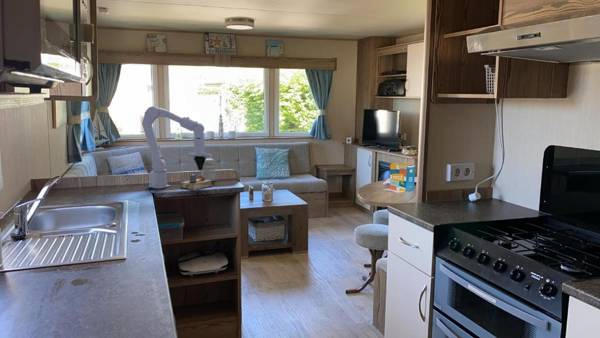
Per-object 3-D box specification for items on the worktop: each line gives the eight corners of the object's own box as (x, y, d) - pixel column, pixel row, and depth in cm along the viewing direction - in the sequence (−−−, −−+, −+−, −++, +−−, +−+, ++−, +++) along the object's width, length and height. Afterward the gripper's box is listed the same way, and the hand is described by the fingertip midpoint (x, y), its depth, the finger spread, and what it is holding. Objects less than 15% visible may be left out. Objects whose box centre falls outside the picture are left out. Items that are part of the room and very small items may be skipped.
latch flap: (197, 175, 264) (197, 174, 264) (201, 179, 266) (201, 178, 267) (201, 176, 262) (202, 175, 262) (205, 179, 265) (205, 178, 265)
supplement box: (199, 179, 282) (198, 158, 280) (211, 178, 285) (210, 157, 283) (203, 181, 275) (202, 160, 273) (215, 180, 279) (214, 159, 277)
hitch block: (181, 187, 259) (181, 182, 258) (198, 183, 270) (198, 178, 269) (195, 189, 253) (194, 184, 253) (211, 185, 264) (211, 180, 264)
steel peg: (188, 187, 259) (188, 175, 258) (193, 186, 262) (192, 174, 261) (193, 188, 257) (192, 175, 256) (198, 187, 260) (197, 174, 259)
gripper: (184, 145, 260) (185, 170, 262) (206, 146, 254) (207, 171, 257) (191, 144, 266) (192, 168, 269) (213, 145, 261) (214, 169, 263)
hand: (200, 169), depth 263 cm, fingers closed
